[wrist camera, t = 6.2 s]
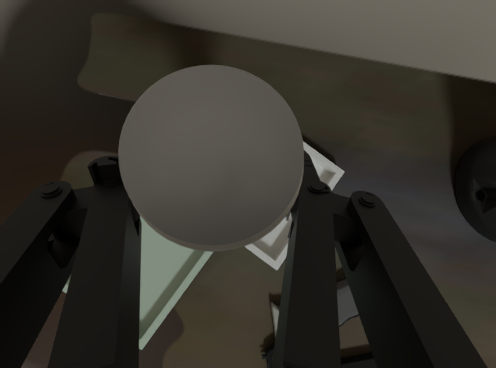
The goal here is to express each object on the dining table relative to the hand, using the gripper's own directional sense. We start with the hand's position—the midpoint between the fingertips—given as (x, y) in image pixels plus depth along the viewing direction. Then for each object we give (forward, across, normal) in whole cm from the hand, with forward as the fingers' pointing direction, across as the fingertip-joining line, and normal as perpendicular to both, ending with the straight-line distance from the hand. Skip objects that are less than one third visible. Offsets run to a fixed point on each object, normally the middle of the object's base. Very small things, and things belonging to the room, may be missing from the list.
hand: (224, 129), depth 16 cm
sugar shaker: (0, 0, -5) cm, 5 cm away
